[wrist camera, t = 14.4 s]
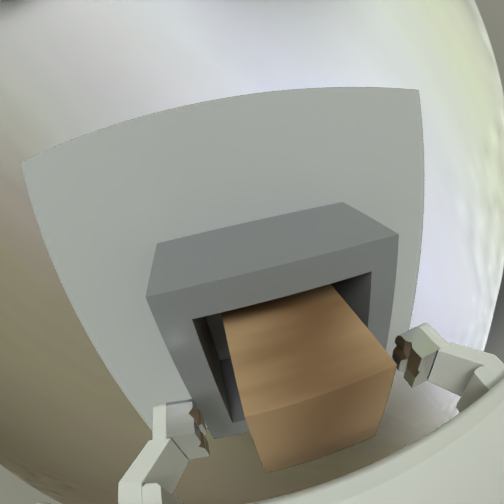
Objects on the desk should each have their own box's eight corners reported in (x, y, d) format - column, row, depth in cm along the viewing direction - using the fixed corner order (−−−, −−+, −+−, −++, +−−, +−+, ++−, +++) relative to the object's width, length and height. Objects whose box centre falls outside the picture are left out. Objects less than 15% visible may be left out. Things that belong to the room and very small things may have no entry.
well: (155, 424, 19) (156, 484, 14) (30, 159, 11) (-39, 182, 6) (394, 357, 22) (429, 401, 17) (407, 90, 13) (482, 90, 8)
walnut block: (232, 344, 16) (265, 473, 9) (213, 275, 14) (245, 417, 7) (309, 323, 16) (375, 435, 9) (304, 253, 15) (396, 364, 7)
